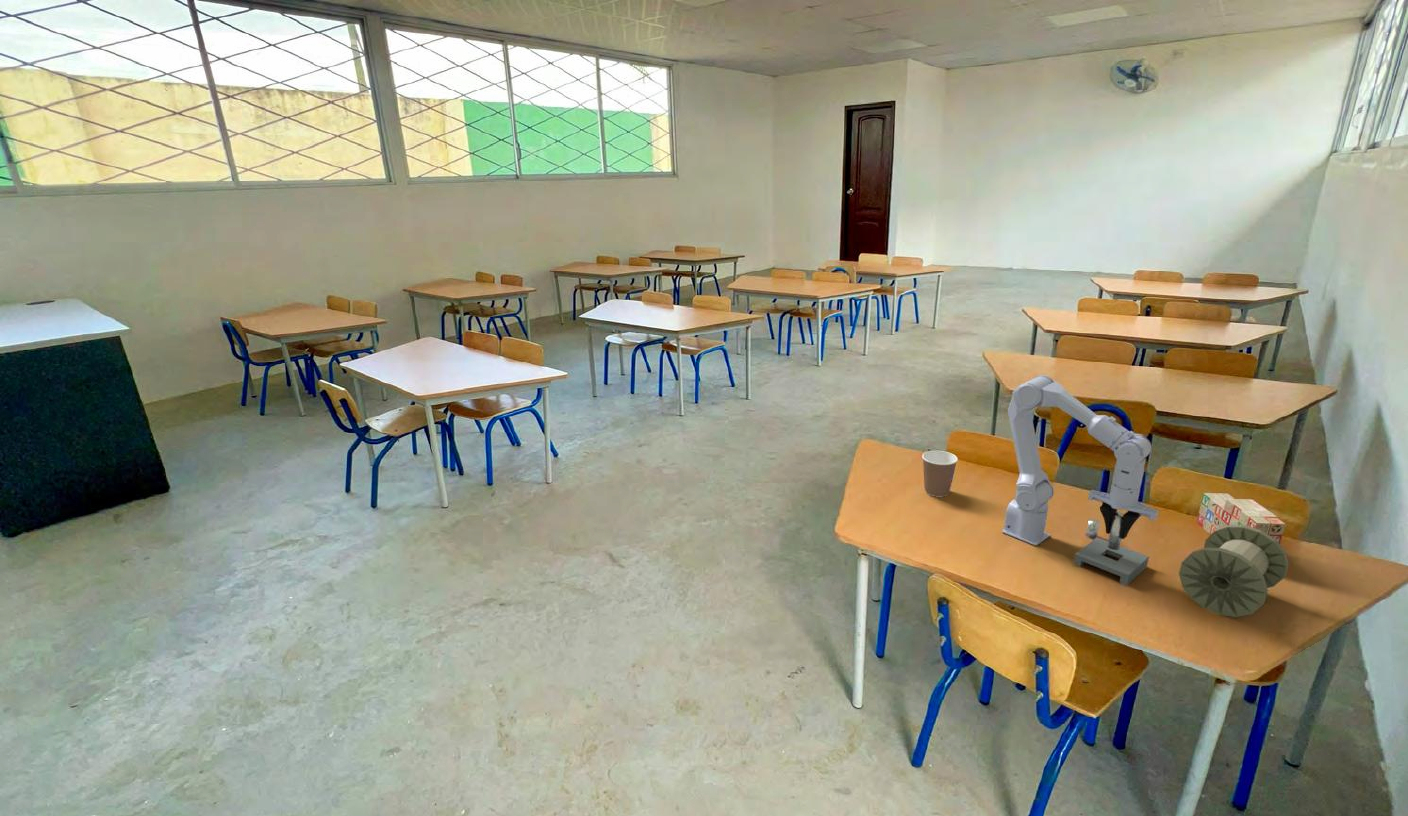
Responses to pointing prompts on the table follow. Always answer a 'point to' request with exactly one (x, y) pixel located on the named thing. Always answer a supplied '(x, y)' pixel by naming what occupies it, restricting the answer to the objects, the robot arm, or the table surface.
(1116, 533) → the long pin
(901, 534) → the table surface
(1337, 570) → the table surface
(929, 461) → the coffee cup
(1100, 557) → the board
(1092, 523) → the short pin
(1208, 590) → the spool
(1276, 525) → the stack of blocks
